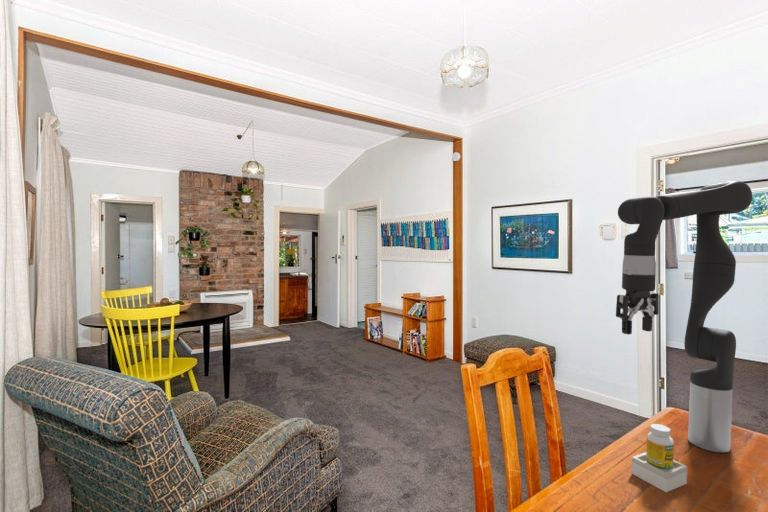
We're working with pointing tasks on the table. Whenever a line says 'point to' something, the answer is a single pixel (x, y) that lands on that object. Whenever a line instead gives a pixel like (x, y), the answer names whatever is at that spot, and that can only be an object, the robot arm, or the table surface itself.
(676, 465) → the grey open box
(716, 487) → the table surface
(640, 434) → the table surface
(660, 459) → the supplement bottle
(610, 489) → the table surface
